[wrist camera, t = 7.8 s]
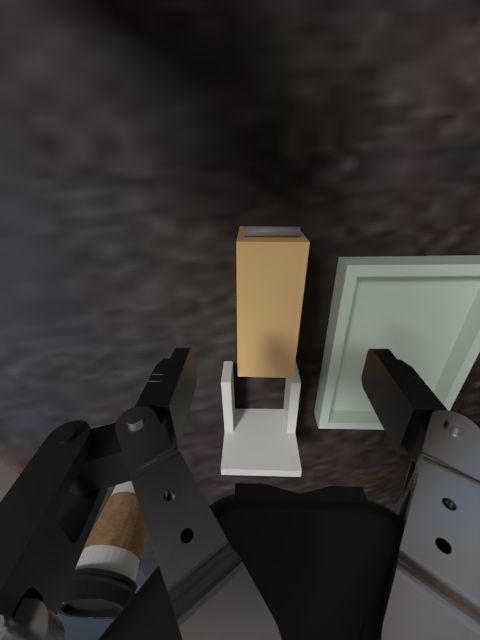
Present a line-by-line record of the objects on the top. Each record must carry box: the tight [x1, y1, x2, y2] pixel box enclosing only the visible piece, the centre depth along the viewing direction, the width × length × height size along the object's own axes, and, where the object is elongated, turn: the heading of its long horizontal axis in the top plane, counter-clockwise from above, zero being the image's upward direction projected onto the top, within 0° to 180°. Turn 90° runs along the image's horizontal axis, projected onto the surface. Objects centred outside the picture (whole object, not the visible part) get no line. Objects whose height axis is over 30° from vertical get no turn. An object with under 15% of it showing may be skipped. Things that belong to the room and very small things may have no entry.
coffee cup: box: [58, 481, 148, 619], centre depth 36 cm, size 8×8×15 cm
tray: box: [314, 255, 480, 430], centre depth 28 cm, size 20×14×2 cm
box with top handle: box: [236, 226, 310, 378], centre depth 24 cm, size 13×5×6 cm, turn 0°
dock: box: [221, 361, 301, 477], centre depth 29 cm, size 9×8×8 cm
